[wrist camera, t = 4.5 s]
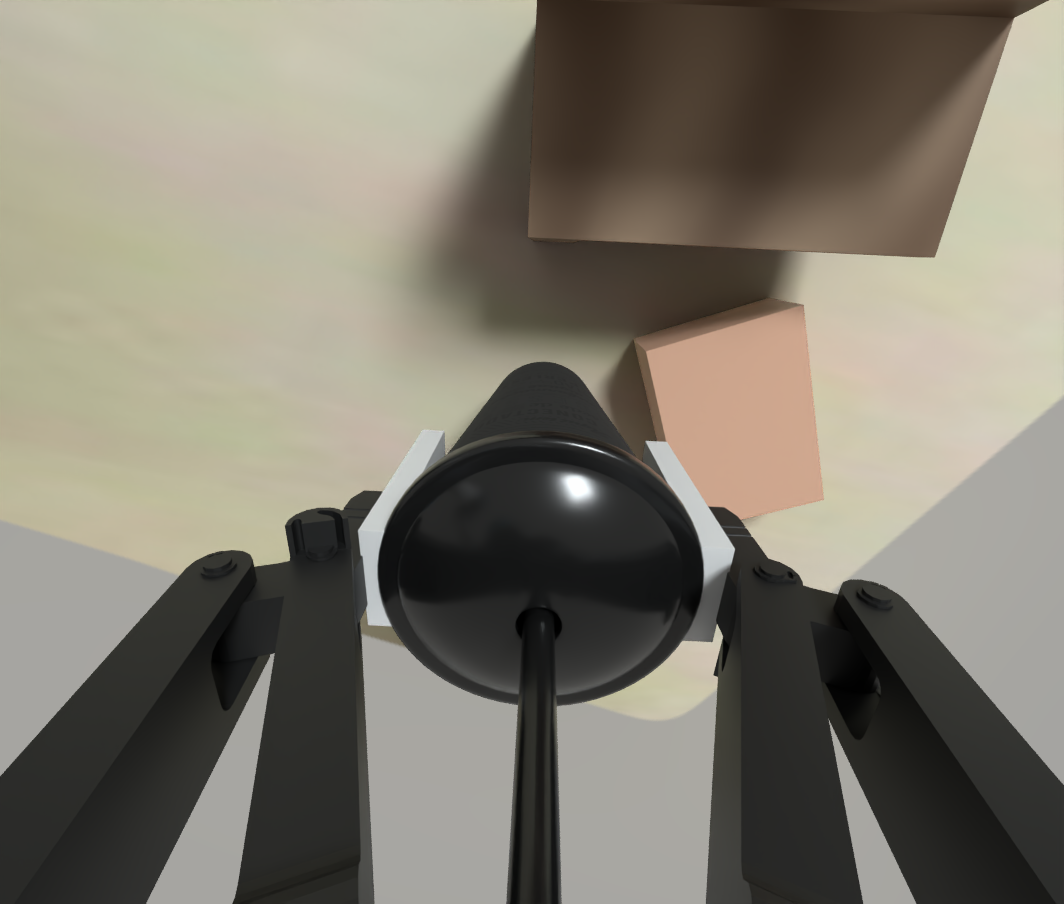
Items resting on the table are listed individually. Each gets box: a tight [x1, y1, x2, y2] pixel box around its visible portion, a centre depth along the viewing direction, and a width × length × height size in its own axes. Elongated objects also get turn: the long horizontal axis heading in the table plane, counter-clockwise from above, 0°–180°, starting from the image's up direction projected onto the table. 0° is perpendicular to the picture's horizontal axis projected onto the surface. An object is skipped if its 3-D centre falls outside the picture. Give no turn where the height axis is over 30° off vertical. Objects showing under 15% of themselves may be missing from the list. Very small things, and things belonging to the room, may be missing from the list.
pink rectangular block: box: [633, 298, 824, 520], centre depth 26 cm, size 7×10×4 cm
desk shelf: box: [528, 0, 1048, 257], centre depth 16 cm, size 15×9×14 cm, turn 87°
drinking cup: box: [377, 362, 704, 904], centre depth 15 cm, size 8×8×20 cm
